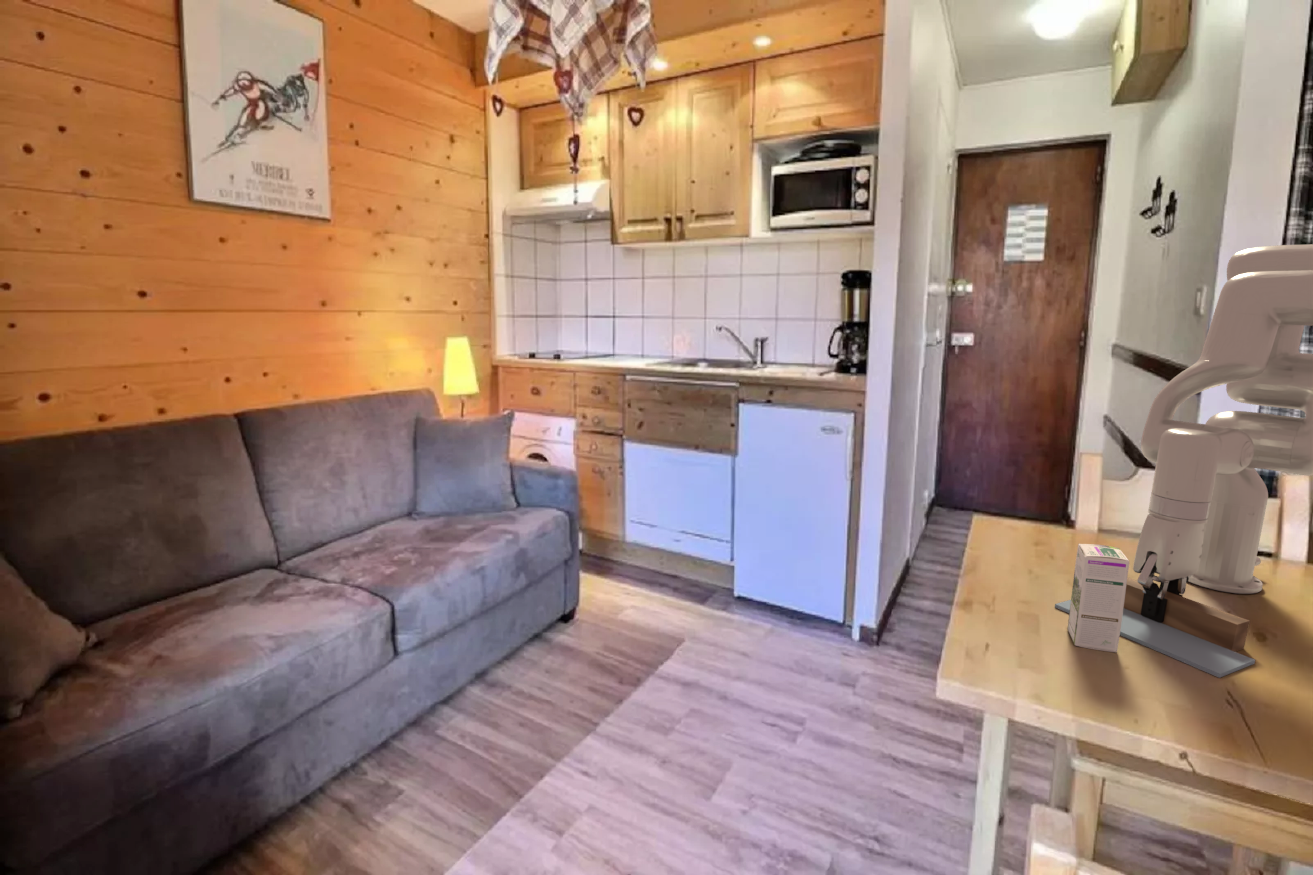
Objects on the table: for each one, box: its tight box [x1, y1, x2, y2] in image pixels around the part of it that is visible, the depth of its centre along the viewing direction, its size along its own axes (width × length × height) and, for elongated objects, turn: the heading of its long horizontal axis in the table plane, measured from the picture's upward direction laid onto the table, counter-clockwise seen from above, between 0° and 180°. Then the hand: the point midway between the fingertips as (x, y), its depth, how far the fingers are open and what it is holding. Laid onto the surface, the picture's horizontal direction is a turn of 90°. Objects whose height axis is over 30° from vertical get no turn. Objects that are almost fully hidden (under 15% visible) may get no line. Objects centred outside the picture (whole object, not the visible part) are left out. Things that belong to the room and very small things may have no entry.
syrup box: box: [1067, 543, 1130, 653], centre depth 103 cm, size 6×6×14 cm
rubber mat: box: [1054, 599, 1256, 679], centre depth 107 cm, size 9×24×1 cm, turn 25°
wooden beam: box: [1123, 576, 1251, 652], centre depth 111 cm, size 3×22×4 cm, turn 25°
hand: (1159, 615), depth 111 cm, fingers closed on wooden beam, 3 cm apart
